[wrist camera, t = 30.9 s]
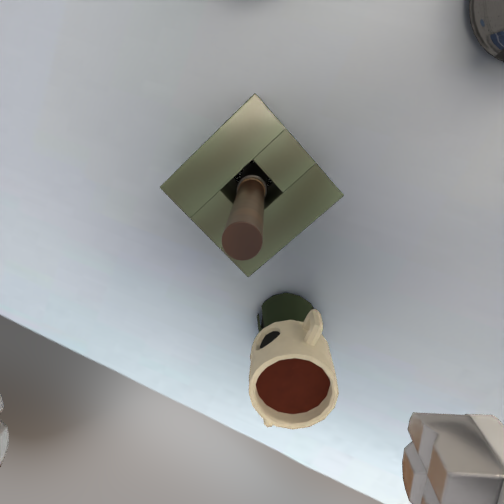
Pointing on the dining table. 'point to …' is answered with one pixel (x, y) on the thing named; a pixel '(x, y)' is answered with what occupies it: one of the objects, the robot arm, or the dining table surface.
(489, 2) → the beverage bottle
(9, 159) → the dining table surface
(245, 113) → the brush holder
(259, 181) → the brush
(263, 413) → the character mug
